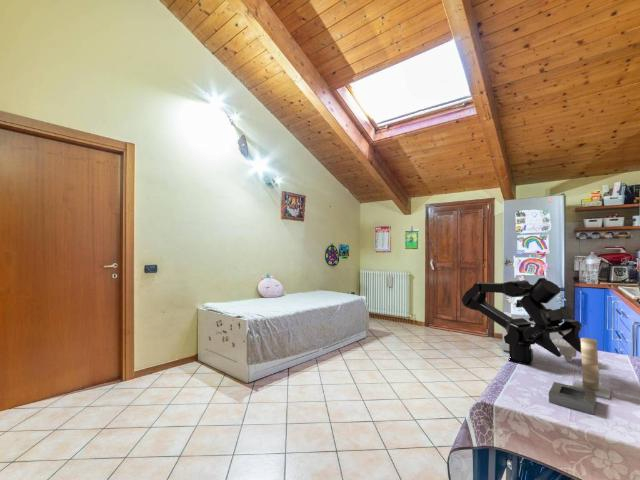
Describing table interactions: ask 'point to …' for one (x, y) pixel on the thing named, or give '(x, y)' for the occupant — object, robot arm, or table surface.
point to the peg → (590, 364)
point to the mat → (603, 391)
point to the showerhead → (565, 349)
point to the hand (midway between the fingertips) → (571, 354)
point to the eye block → (573, 397)
